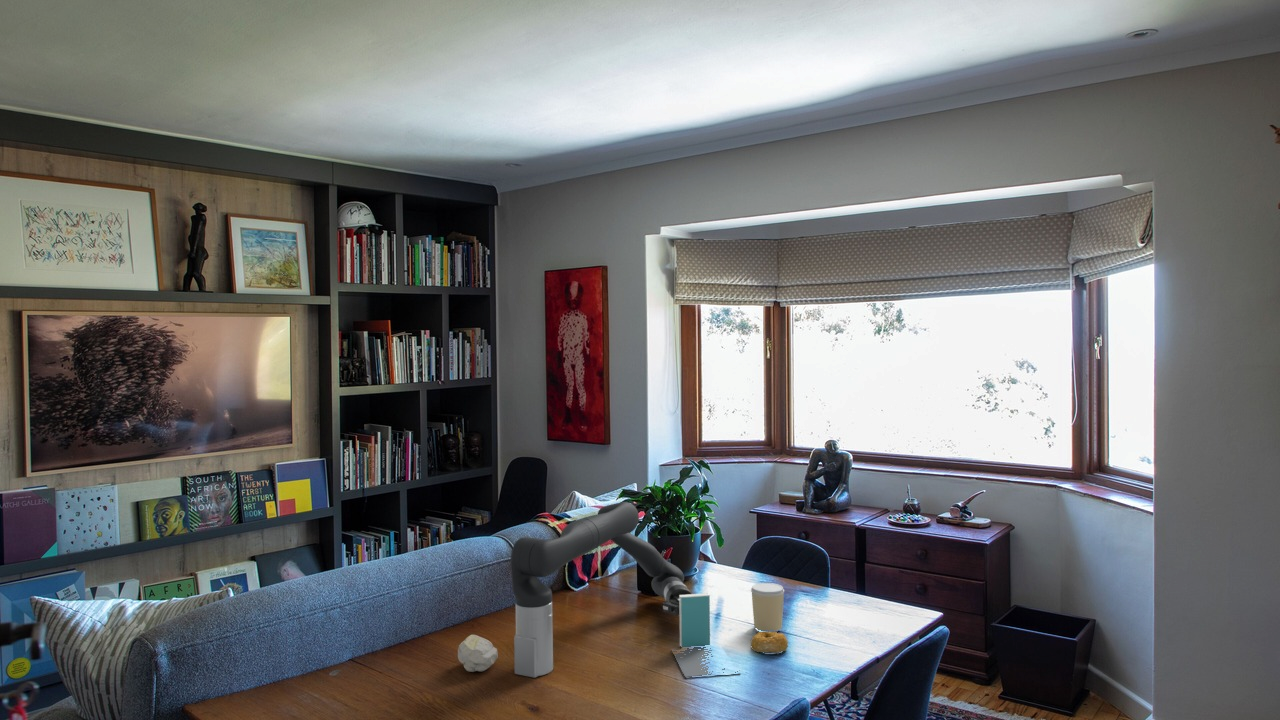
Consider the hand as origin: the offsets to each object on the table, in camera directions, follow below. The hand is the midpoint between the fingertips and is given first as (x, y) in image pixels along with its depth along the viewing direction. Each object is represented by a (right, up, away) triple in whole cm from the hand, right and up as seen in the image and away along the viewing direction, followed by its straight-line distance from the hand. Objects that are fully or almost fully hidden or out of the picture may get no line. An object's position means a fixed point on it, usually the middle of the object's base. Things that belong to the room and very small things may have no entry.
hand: (690, 615), depth 222 cm
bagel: (+21, -7, -6) cm, 23 cm away
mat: (+3, -7, -15) cm, 17 cm away
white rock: (-55, -8, -17) cm, 58 cm away
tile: (+1, -7, -4) cm, 8 cm away
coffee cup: (+23, -7, +9) cm, 25 cm away
